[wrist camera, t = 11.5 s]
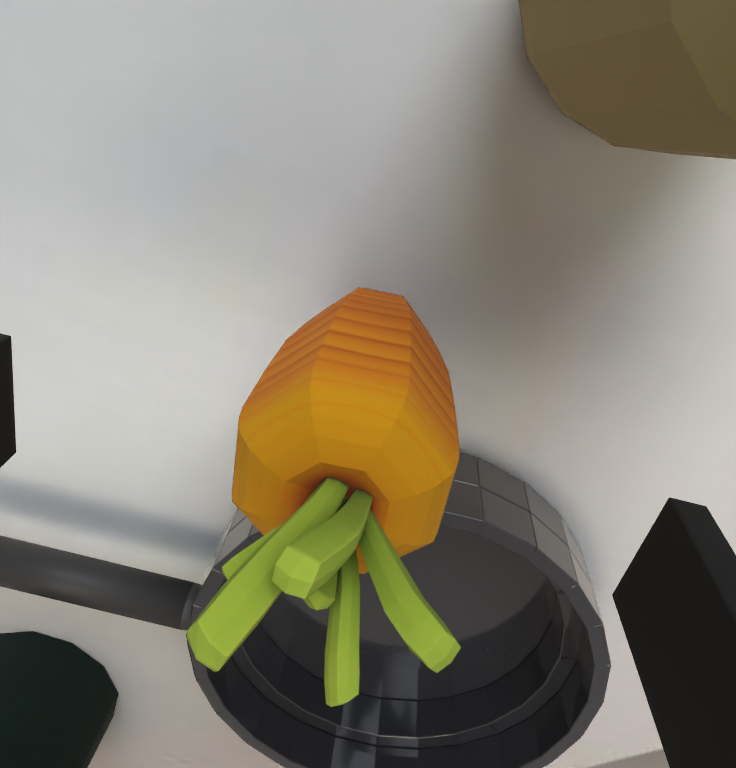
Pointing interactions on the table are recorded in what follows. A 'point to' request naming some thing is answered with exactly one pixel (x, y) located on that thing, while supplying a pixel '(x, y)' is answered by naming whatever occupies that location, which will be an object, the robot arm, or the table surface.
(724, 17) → the squeeze bottle
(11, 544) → the pan handle
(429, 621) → the carrot
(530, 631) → the pan
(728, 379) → the table surface
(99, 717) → the wine bottle
